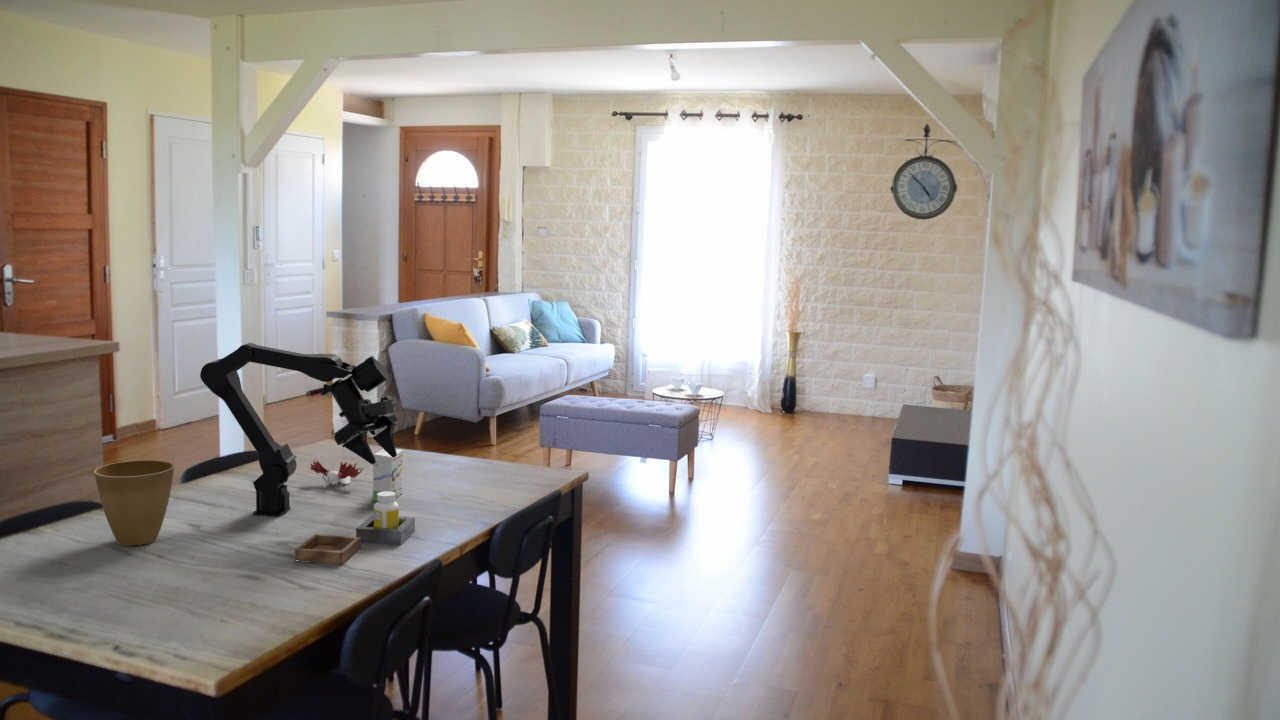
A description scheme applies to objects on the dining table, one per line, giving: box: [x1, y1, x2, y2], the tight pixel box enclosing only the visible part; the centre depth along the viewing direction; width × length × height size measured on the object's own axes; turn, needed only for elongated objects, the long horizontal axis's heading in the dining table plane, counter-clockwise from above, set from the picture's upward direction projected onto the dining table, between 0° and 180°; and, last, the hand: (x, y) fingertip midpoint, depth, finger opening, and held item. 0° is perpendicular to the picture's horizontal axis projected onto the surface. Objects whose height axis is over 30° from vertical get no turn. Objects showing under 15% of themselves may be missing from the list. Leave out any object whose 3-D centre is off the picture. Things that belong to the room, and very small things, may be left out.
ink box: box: [372, 448, 404, 502], centre depth 245 cm, size 8×5×12 cm, turn 174°
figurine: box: [310, 457, 365, 487], centre depth 254 cm, size 15×12×7 cm
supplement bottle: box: [373, 491, 400, 529], centre depth 215 cm, size 5×5×10 cm
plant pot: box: [93, 459, 175, 546], centre depth 205 cm, size 15×15×16 cm
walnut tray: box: [294, 533, 362, 566], centre depth 202 cm, size 10×10×2 cm
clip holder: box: [355, 514, 416, 546], centre depth 215 cm, size 10×10×3 cm
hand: (384, 460), depth 225 cm, fingers open, 9 cm apart
